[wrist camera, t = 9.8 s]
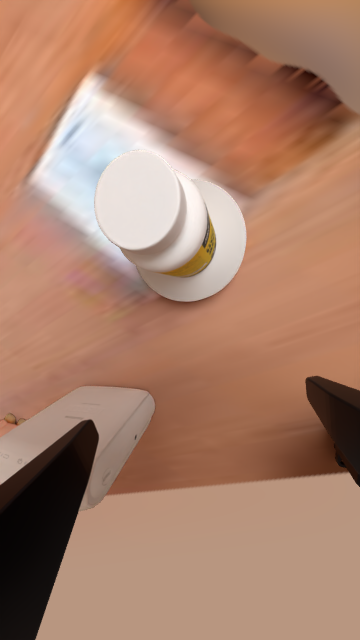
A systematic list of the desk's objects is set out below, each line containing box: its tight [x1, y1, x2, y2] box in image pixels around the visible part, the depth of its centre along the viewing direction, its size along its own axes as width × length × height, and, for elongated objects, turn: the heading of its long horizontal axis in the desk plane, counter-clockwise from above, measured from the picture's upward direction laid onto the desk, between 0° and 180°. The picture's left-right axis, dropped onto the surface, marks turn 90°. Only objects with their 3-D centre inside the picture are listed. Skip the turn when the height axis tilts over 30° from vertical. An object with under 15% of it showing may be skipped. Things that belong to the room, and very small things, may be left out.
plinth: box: [136, 179, 246, 302], centre depth 20 cm, size 10×10×2 cm
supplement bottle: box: [94, 150, 216, 278], centre depth 14 cm, size 5×5×10 cm
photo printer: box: [0, 386, 155, 511], centre depth 20 cm, size 10×4×12 cm, turn 92°
